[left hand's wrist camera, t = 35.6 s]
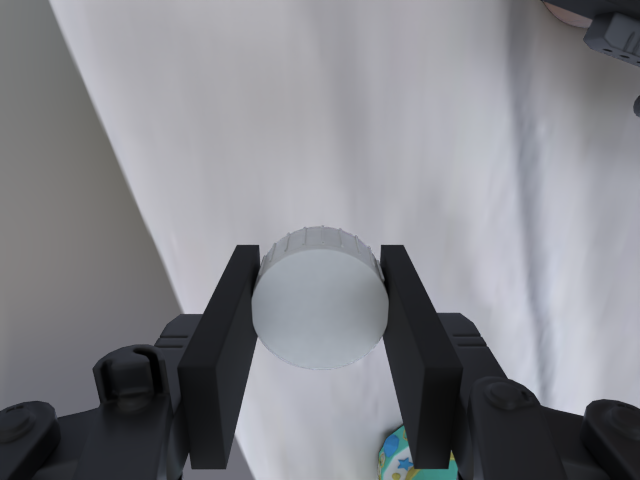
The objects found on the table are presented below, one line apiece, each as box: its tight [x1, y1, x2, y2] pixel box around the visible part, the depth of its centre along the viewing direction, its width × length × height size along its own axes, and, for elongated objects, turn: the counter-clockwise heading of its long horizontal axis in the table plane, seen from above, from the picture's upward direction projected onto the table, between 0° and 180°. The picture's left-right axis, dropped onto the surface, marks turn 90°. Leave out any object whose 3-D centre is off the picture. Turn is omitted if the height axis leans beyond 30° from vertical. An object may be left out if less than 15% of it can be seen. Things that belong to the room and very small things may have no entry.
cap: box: [252, 226, 389, 370], centre depth 14 cm, size 4×4×2 cm
